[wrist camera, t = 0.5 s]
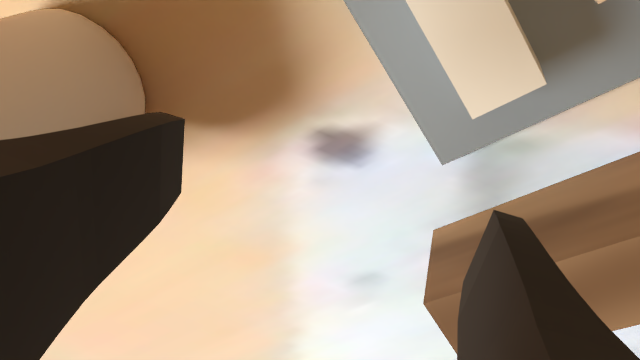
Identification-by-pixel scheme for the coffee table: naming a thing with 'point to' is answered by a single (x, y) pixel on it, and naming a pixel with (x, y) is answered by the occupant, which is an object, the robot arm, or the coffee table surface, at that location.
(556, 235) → the case
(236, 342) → the coffee table surface
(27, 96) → the cup
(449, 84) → the stand
